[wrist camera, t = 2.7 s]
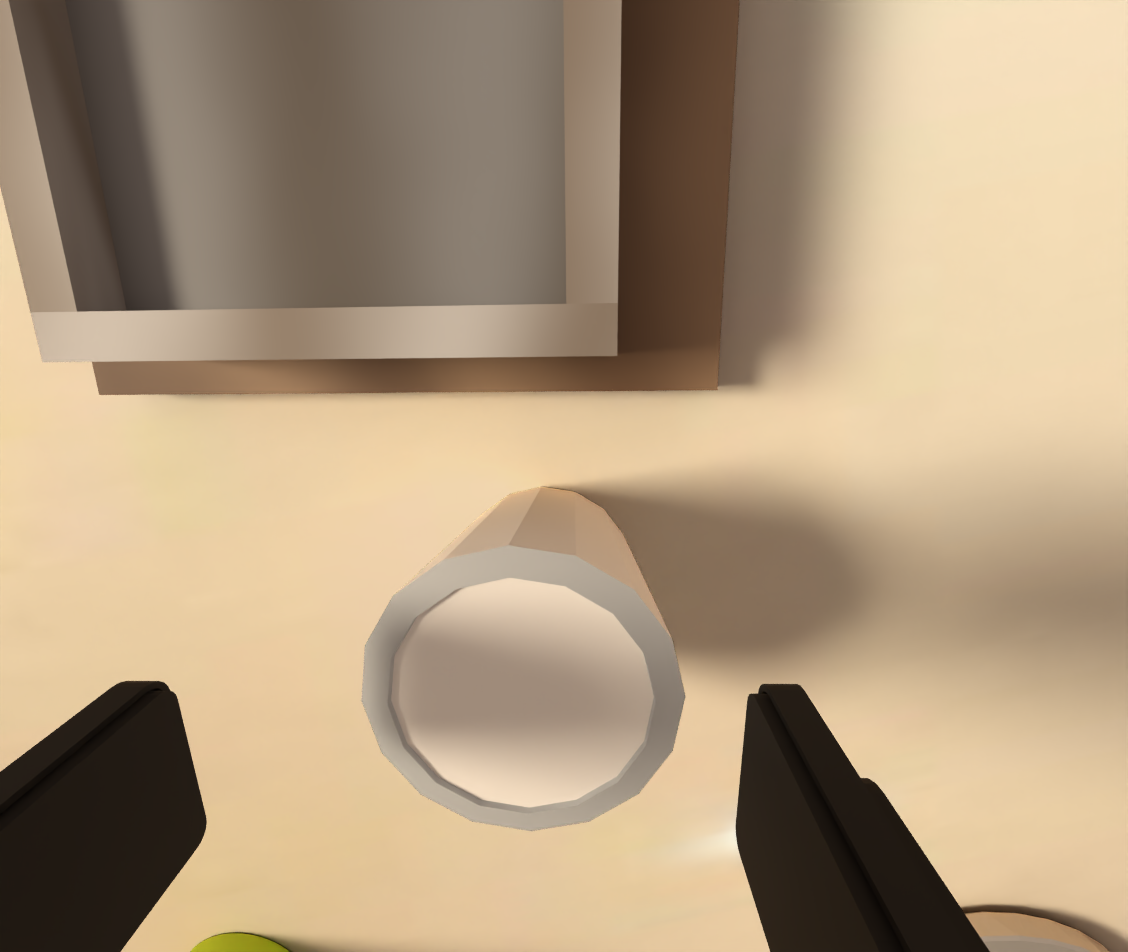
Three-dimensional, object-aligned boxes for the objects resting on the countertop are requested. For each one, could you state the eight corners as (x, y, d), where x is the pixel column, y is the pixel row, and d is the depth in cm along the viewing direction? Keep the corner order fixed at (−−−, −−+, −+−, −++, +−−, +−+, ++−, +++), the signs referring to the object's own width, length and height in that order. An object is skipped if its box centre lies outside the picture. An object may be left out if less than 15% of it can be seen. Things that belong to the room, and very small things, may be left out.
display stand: (735, -197, 13) (849, -620, 7) (705, 386, 16) (766, 405, 10) (33, -153, 14) (-351, -500, 8) (141, 390, 17) (-78, 410, 11)
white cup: (647, 463, 17) (687, 542, 10) (650, 655, 18) (686, 837, 11) (435, 472, 17) (334, 552, 10) (456, 658, 19) (380, 836, 12)
